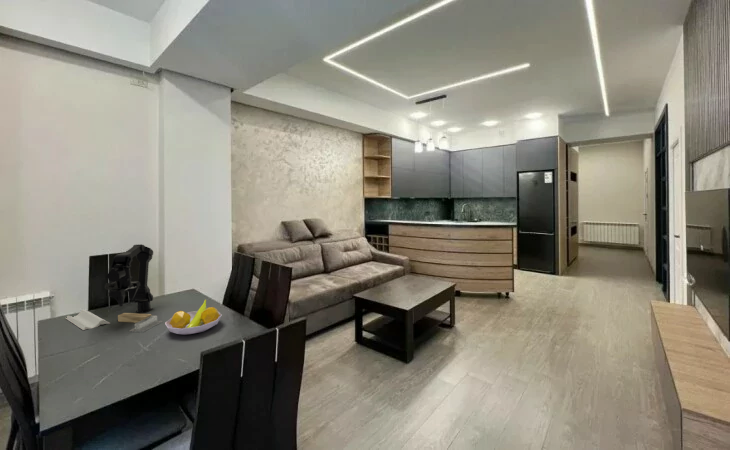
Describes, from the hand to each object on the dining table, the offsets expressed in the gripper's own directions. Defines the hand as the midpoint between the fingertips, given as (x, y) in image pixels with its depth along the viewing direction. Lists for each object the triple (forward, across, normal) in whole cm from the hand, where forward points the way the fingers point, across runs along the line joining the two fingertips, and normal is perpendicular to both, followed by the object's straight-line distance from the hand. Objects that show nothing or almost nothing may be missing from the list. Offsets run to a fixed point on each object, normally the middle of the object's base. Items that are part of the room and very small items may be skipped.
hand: (126, 303), depth 173 cm
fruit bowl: (+11, +14, +42) cm, 46 cm away
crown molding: (+12, -6, -25) cm, 29 cm away
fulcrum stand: (+11, +8, +14) cm, 19 cm away
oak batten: (+12, -2, +3) cm, 12 cm away
